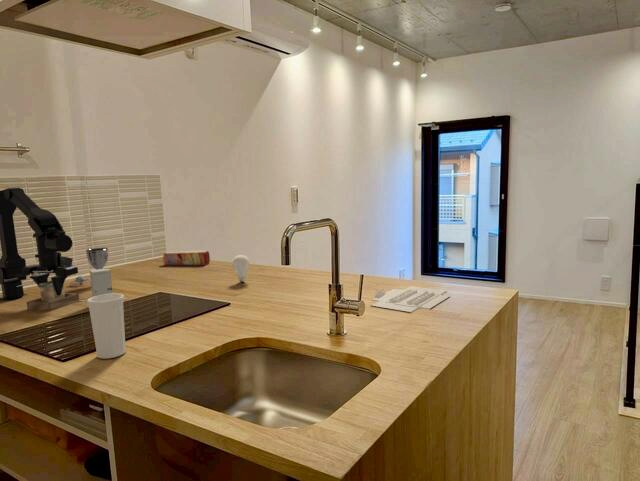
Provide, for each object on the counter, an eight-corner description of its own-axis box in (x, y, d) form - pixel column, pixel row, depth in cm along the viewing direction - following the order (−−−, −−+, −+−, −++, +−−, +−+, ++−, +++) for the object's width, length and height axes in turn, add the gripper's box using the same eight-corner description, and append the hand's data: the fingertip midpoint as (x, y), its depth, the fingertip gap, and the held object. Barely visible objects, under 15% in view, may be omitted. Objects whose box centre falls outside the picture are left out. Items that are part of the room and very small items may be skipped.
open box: (27, 309, 152) (26, 302, 151) (56, 299, 163) (55, 292, 163) (51, 310, 149) (50, 303, 149) (79, 300, 161) (78, 293, 160)
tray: (456, 294, 152) (456, 284, 151) (421, 320, 130) (421, 308, 130) (401, 287, 164) (401, 277, 164) (361, 310, 142) (361, 298, 142)
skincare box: (94, 307, 151) (90, 272, 149) (92, 304, 154) (89, 270, 153) (114, 304, 154) (110, 269, 152) (112, 301, 158) (108, 267, 156)
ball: (73, 285, 183) (72, 276, 183) (80, 283, 186) (79, 275, 186) (81, 285, 182) (80, 277, 182) (87, 283, 185) (86, 275, 185)
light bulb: (247, 284, 176) (245, 256, 174) (231, 284, 177) (229, 256, 175) (252, 280, 182) (251, 253, 180) (237, 280, 183) (235, 253, 182)
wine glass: (85, 287, 180) (81, 250, 178) (100, 282, 188) (97, 247, 186) (101, 288, 178) (97, 251, 176) (116, 283, 185) (112, 247, 183)
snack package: (162, 266, 221) (161, 251, 220) (170, 263, 228) (169, 249, 227) (205, 266, 216) (203, 251, 215) (211, 263, 223) (210, 249, 222)
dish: (67, 287, 182) (66, 282, 182) (80, 283, 189) (79, 278, 188) (81, 288, 180) (80, 282, 180) (94, 283, 187) (93, 278, 186)
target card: (69, 300, 161) (69, 299, 161) (88, 294, 170) (87, 293, 170) (82, 301, 160) (82, 300, 159) (101, 294, 168) (101, 293, 168)
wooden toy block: (41, 300, 154) (39, 283, 153) (53, 296, 159) (51, 280, 158) (53, 301, 153) (51, 284, 152) (65, 297, 158) (63, 280, 157)
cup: (96, 364, 103) (89, 304, 101) (90, 354, 110) (83, 297, 108) (133, 355, 108) (127, 297, 106) (125, 345, 114) (119, 291, 112)
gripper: (87, 246, 159) (92, 289, 161) (45, 246, 164) (50, 288, 166) (62, 252, 148) (67, 298, 150) (17, 251, 153) (23, 296, 155)
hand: (52, 294), depth 156 cm, fingers closed on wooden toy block, 5 cm apart
